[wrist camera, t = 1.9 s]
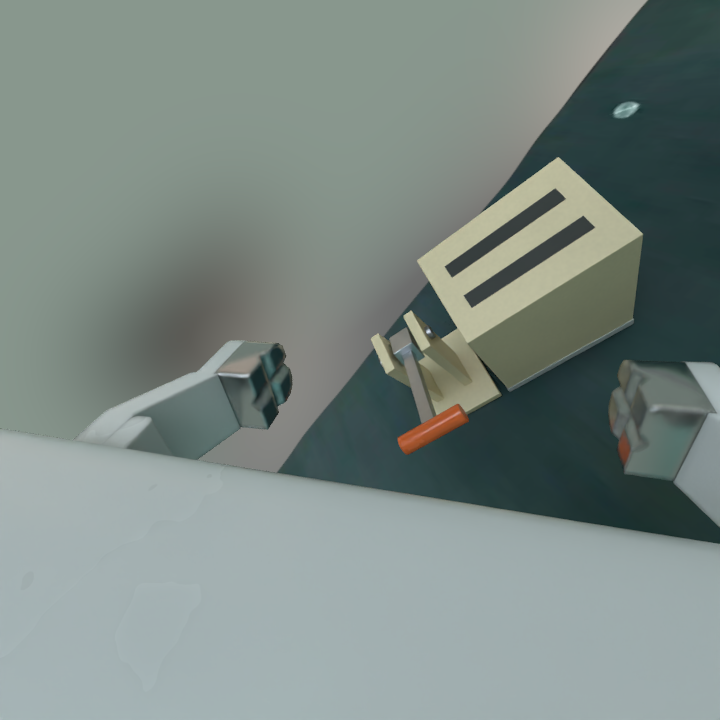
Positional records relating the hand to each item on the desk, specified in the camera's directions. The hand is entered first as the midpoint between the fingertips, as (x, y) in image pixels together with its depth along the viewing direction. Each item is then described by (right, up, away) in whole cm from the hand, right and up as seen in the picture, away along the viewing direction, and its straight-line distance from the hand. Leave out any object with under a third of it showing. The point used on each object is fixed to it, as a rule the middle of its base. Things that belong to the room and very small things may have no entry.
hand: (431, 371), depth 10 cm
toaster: (+19, +4, +36) cm, 41 cm away
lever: (+4, -2, +26) cm, 26 cm away
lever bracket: (+10, -2, +40) cm, 41 cm away
